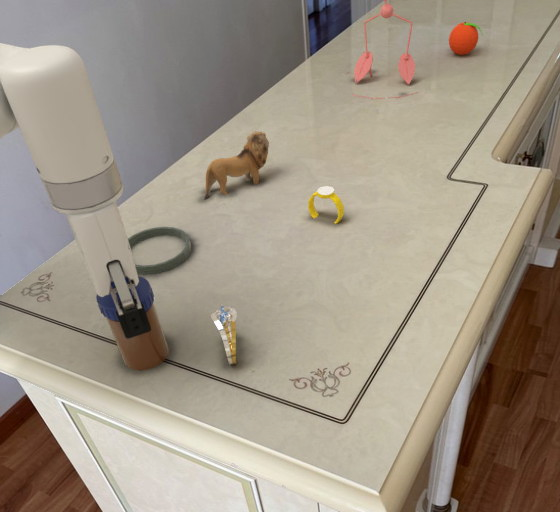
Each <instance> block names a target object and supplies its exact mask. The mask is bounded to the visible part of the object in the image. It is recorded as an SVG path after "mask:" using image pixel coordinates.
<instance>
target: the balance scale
mask: <svg viewBox="0 0 560 512" xmlns="http://www.w3.org/2000/svg"><path fill="white" fill-rule="evenodd" d="M383 1H384V4H383V5H382V6H381V8H380V13H378V14H376V15H373V16H372V17H370V18H369V19H367V20H365V21H364V23H363V27H364V28H363V29H364V39H365V40H364V42H365V44H364V45H365V52H363V54H362V55H361V56H360V57H359V58H358V59H357V62H356V63H355V67H354V82H355V84H358V83H359V82H361V80H363V79H364V78H365V77H366V76H367V75H368V74H369V76H370V77H372V76H373V71H372V65H373V60H374V55H373V54H372V51H369V50H368V37H367V23H368V22H370V21H373V20H374V19H376V18H378V17H379V16H380V17H382V18H383V19H390V18H391V17H392V16H393V17H396V18H398V19H400V20H402V21H404V22H407V23H409V24H410V26H409V33H408V39H407V44H406V45H407V46H406V51H405V53H403V54H401V56H400V57H399V61H398V65H397V66H398V67H397V68H398V69H397V70H398V72H399V75H400V77H401V79H403V81H404V82H405V83H406V84H407V85H410V84H411V82H412V80H413V78H414V75H415V72H416V64H415V60H414V59H413V57H412V55H411V54H410V53H409V49H410V42H411V35H412V30H413V21H411V20H410V19H409V20H408V19H407V18H404V17H402V16H400V15H397V14H396V13H394V7H393V6H392V4H390V3H388V1H387V0H383ZM349 73H350V71H349V72H346V73H345V75H347V74H349ZM415 94H419V92H418V91H417V92H414V93H411V94H405V95H399V96H391V97H389V99H400V98H403V97H407V96H413V95H415ZM351 95H352V96H355V97H359V98H364V99H365V98H366V99H372V97H370V96H361V95H358V94H353V93H352V94H351ZM379 99H380V100H381V99H384V97H376V100H379Z"/></svg>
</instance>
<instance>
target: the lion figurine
mask: <svg viewBox="0 0 560 512" xmlns="http://www.w3.org/2000/svg"><path fill="white" fill-rule="evenodd" d="M246 141H247V142H246V143H245V145H244V146H243V149H242V150H241V151H240V153H239V154H237V155H235V156H232V157H231V156H230V157H226V158H225V157H224V158H221V157H219V158H215V159H214V160H212V161H211V162H210V163H209V165H208V167H207V169H206V173H205V195H204V198H203V201H206V200H208V199H209V195H210V193H212V191H211V189H212V187H213V186H214V184H215V183H216V182H217V183H218V185H219V192H220V194H222V196H227V195H229V193H228V191H227V189H226V188H227V184H228V183H227V182H228V177H231V178H239V177H244V176H245V181H246V182H251V181H253V185H256V186H257V185H259V184H260V182H259V181H260V170H261V169H262V168H264V167H265V165H266V163H267V159H268V155H269V147H270V142H269V139H268V138H267V135H266V133H265V132H263V131H257V130H256V131H253V132H251V133H250V134H249V135H247V137H246Z"/></svg>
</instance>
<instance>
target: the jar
mask: <svg viewBox="0 0 560 512" xmlns="http://www.w3.org/2000/svg"><path fill="white" fill-rule="evenodd" d="M146 314H147V317H148V320H149V323H150V326H151V331H150V332H147V333H144V334H141V335H138V336H135V337H132V338H129V339H127V338H126V337H125V335H124V332H123V330H122V327H121V324H120V322H119V321H115V320H111V319H108V318H106V317H105V319H106V321H107V324H108V326H109V328H110V331H111V333H112V336H113V339H114V341H115V343H116V346H117V349H118V351H119V353H120V355H121V358H122V360H123V363H124V365H125V366H126V367H127V368H129V369H131V370H134V371H145V370H146V371H147V370H150V369H153V368H155V367H157V366H159V365H161V364H162V363H163V362H165V360H166V359H167V357H168V356H169V352H170V351H169V350H170V349H169V345H168V342H167V340H166V337H165V333H164V330H163V328H162V324H161V321H160V318H159V315H158V312H157V309H156V306H155V302H153V304H152V306H151V307H150V308H149V309H148V310H147V311H146Z"/></svg>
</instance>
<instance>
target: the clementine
mask: <svg viewBox="0 0 560 512" xmlns="http://www.w3.org/2000/svg"><path fill="white" fill-rule="evenodd" d="M478 30H479V32H480V33H481V36H483V31H482V30H481V28H480V26H478V25H477V24H475V23H472V22H468V21H467V22H466V21H464V22H460V23H458V24H457V25H455V26H454V27H453V28H452V30H451V31H450V34H449V36H448V45H449V48H450V50H451V52H453V53H454V54H456V55H459V56H464V55H467V54H470V53H471V52H473V50H474V49H475V48H476V46H477V45H478V42H479V32H478Z"/></svg>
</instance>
